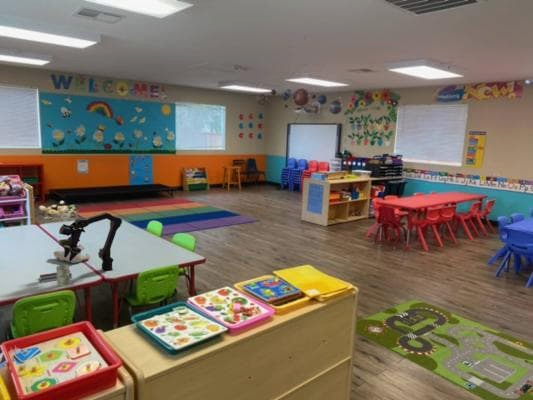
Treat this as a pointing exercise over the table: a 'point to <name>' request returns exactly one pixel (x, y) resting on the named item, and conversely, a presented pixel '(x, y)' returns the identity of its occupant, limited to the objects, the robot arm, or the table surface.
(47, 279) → the door track
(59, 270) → the grey green block
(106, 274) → the table surface
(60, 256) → the animal model
